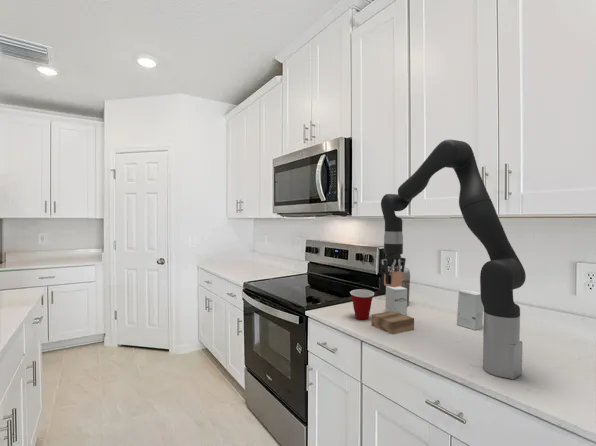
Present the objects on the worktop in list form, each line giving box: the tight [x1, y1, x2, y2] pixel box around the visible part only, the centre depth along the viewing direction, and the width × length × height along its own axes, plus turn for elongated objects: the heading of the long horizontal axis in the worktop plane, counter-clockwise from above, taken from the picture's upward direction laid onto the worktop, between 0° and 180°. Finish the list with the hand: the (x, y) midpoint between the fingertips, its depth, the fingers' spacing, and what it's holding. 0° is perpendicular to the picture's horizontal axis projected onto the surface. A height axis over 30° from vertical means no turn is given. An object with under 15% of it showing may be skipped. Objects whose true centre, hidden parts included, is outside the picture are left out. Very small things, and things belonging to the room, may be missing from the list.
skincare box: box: [456, 289, 484, 331], centre depth 140 cm, size 8×6×15 cm
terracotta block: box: [383, 269, 402, 287], centre depth 137 cm, size 5×5×6 cm
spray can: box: [397, 266, 411, 307], centre depth 175 cm, size 8×8×20 cm
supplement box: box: [385, 286, 408, 316], centre depth 158 cm, size 7×7×13 cm
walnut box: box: [371, 311, 415, 335], centre depth 138 cm, size 12×12×5 cm
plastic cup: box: [349, 288, 375, 321], centre depth 150 cm, size 11×11×12 cm
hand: (392, 283), depth 137 cm, fingers closed on terracotta block, 5 cm apart
